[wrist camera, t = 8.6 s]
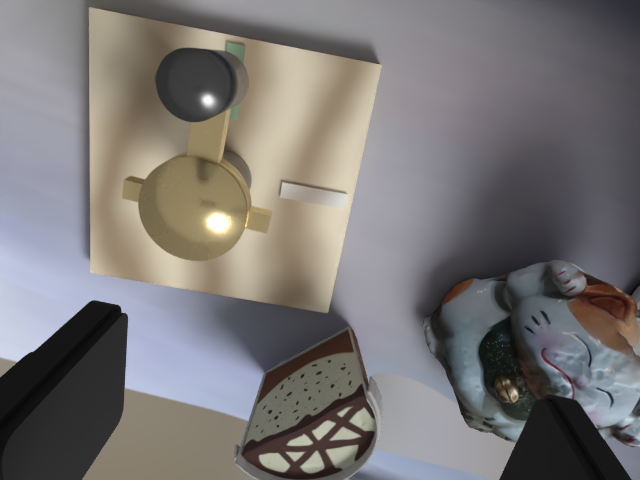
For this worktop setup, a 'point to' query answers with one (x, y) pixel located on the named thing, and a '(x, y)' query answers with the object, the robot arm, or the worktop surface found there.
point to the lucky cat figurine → (540, 348)
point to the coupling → (198, 161)
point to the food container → (313, 415)
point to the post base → (268, 136)
